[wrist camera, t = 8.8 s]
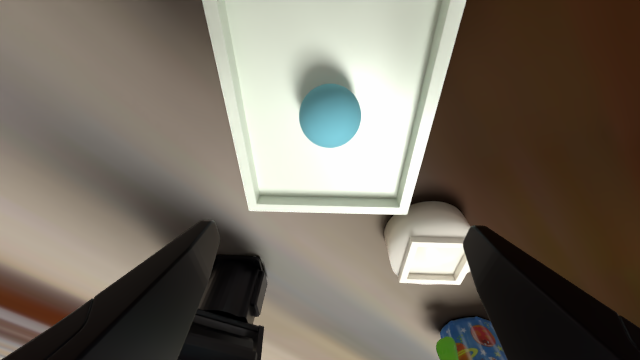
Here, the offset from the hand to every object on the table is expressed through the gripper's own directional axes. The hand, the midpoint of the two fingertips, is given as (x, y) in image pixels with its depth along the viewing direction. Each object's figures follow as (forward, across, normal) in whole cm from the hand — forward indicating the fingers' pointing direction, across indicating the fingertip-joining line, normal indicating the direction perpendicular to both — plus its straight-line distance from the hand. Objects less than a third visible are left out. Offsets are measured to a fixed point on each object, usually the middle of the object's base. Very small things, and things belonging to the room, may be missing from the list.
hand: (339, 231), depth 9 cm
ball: (+11, 0, -1) cm, 11 cm away
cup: (+12, -10, +12) cm, 20 cm away
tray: (+12, 0, -1) cm, 12 cm away
